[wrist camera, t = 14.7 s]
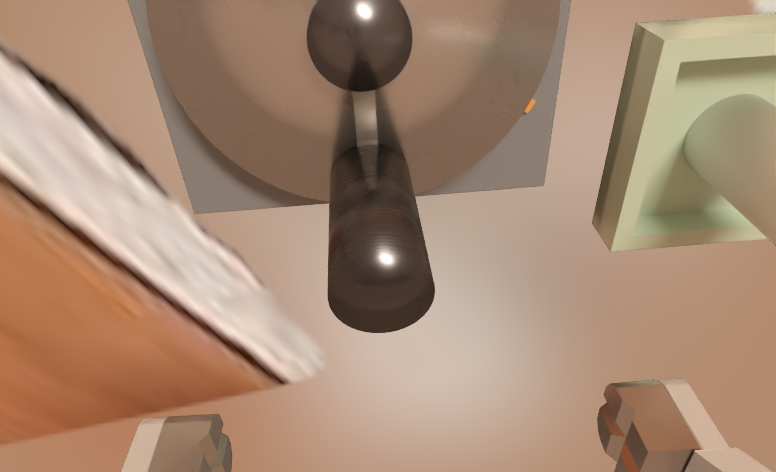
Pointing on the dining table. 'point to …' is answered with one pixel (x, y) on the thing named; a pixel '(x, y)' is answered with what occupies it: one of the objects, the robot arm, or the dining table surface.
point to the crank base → (245, 192)
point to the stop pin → (739, 156)
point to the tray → (678, 130)
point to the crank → (358, 114)
